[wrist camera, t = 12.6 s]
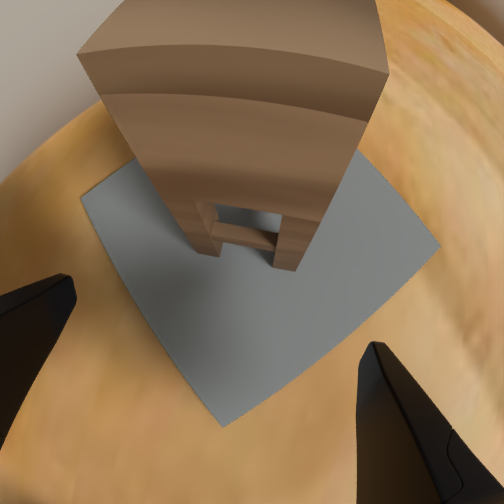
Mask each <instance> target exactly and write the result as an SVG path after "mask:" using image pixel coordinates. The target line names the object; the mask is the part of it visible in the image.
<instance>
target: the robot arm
mask: <svg viewBox="0 0 504 504" xmlns="http://www.w3.org/2000/svg"><path fill="white" fill-rule="evenodd" d="M76 301H77V296H76V291H75V287H74V282H73V279H72V277H71V276H69V275H66V274H63V273H59V274H56V275H54V276H51V277H48V278H46V279H43V280H40V281H37V282H35V283H32V284H29V285H27V286H24V287H22V288H19V289H16V290H14V291H11V292H9V293H6V294H4V295H1V296H0V450H1V448H2V445H3V443H4V441H5V438H6V436H7V434H8V432H9V430H10V427H11V425H12V423H13V421H14V419H15V417H16V415H17V413H18V411H19V409H20V407H21V405H22V403H23V401H24V399H25V397H26V395H27V393H28V391H29V390H30V388H31V386H32V384H33V382H34V380H35V378H36V377H37V375H38V373H39V371H40V370H41V368H42V366H43V364H44V363H45V361H46V359H47V357H48V356H49V354H50V352H51V351H52V349H53V347H54V346H55V344H56V342H57V340H58V338H59V336H60V334H61V332H62V330H63V328H64V326H65V324H66V322H67V320H68V318H69V316H70V314H71V312H72V310H73V308H74V306H75V304H76ZM356 439H357V502H356V504H504V487H503V486H502V485H501V484H500V483H499V482H498V481H497V480H496V478H495V477H494V476H493V475H492V474H491V473H490V472H489V471H488V470H487V468H486V467H485V466H484V465H483V464H482V463H481V462H480V461H479V459H478V458H477V457H476V456H475V455H474V454H473V453H472V451H471V450H470V449H469V448H468V446H467V445H466V444H465V443H464V441H463V440H462V439H461V438H460V436H459V435H458V434H457V432H456V431H455V430H454V429H452V426H451V425H450V423H449V422H448V421H447V419H446V418H445V417H444V416H443V414H442V413H441V412H440V410H439V409H438V408H437V407H436V405H435V404H434V403H433V402H432V400H431V399H430V398H429V396H428V395H427V394H426V393H425V391H424V390H423V389H422V388H421V386H420V385H419V384H418V383H417V381H416V380H415V379H414V378H413V377H412V375H411V374H410V373H409V372H408V370H407V369H406V368H405V367H404V365H403V364H402V363H401V362H400V361H399V359H398V358H397V357H396V356H395V355H394V353H393V352H392V351H391V350H390V349H389V347H388V346H387V345H386V344H385V343H383V342H376V341H372V342H370V343H369V345H368V346H367V348H366V350H365V352H364V354H363V356H362V358H361V360H360V363H359V367H358V386H357V403H356Z"/></svg>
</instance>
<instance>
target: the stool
mask: <svg viewBox="0 0 504 504" xmlns="http://www.w3.org/2000/svg"><path fill="white" fill-rule="evenodd" d="M77 56H78V58H79V60H80V62H81V64H82V66H83V67H84V69H85V71H86V73H87V75H88V76H89V78H90V80H91V82H92V83H93V85H94V87H95V89H96V91H97V92H98V94H99V96H100V98H101V99H102V101H103V103H104V105H105V106H106V108H107V110H108V112H109V113H110V115H111V117H112V118H113V120H114V122H115V123H116V125H117V127H118V128H119V130H120V132H121V134H122V135H123V137H124V139H125V140H126V142H127V143H128V145H129V147H130V148H131V150H132V152H133V153H134V155H135V157H136V158H137V160H138V162H139V163H140V165H141V166H142V168H143V170H144V171H145V173H146V174H147V176H148V178H149V179H150V181H151V182H152V184H153V186H154V187H155V189H156V190H157V192H158V193H159V195H160V197H161V198H162V200H163V201H164V203H165V204H166V206H167V208H168V209H169V211H170V212H171V214H172V215H173V217H174V218H175V220H176V221H177V223H178V225H179V226H180V228H181V229H182V231H183V232H184V234H185V235H186V237H187V238H188V240H189V241H190V243H191V244H192V246H193V247H194V249H195V250H196V252H197V253H198V254H203V255H208V256H213V257H219V258H220V254H221V249H222V245H223V242H224V243H230V244H235V245H241V246H246V247H252V248H257V249H262V250H268V251H273V252H275V256H274V262H273V267H272V268H277V269H282V270H287V271H293V272H295V271H296V269H297V268H298V266H299V264H300V262H301V260H302V258H303V256H304V254H305V252H306V250H307V248H308V246H309V245H310V243H311V241H312V239H313V237H314V235H315V233H316V231H317V229H318V227H319V225H320V223H321V221H322V219H323V217H324V215H325V213H326V211H327V209H328V207H329V205H330V203H331V201H332V199H333V197H334V195H335V193H336V191H337V188H338V186H339V184H340V182H341V180H342V178H343V176H344V174H345V172H346V170H347V168H348V166H349V163H350V161H351V159H352V157H353V155H354V153H355V151H356V148H357V146H358V144H359V142H360V140H361V138H362V135H363V133H364V131H365V129H366V127H367V124H368V122H369V120H370V118H371V116H372V113H373V111H374V109H375V106H376V104H377V102H378V100H379V97H380V95H381V93H382V90H383V88H384V86H385V83H386V81H387V79H388V76H389V68H388V62H387V56H386V50H385V44H384V39H383V34H382V29H381V24H380V20H379V15H378V11H377V7H376V3H375V0H125V1H123V3H121V4H120V5H119V6H118V7H117V8H116V10H115V11H114V12H113V13H112V14H111V15H110V16H109V17H108V18H107V19H106V20H105V21H104V22H103V23H102V24H101V26H100V27H99V28H98V29H97V30H96V31H95V32H94V34H93V35H92V36H91V37H90V38H89V39H88V41H87V42H86V43H85V44H84V45H83V47H82V48H81V49H80V50H79V52H78V53H77ZM214 203H216V204H222V205H228V206H234V207H240V208H246V209H252V210H258V211H263V212H269V213H274V214H280V215H282V219H281V224H280V229H279V233H276V232H270V231H265V230H259V229H254V228H248V227H243V226H237V225H231V224H226V223H220V220H219V217H218V214H217V210H216V207H215V204H214Z"/></svg>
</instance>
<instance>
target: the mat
mask: <svg viewBox="0 0 504 504" xmlns="http://www.w3.org/2000/svg"><path fill="white" fill-rule="evenodd" d="M81 201H82V203H83V205H84V207H85V209H86V211H87V213H88V216H89V218H90V220H91V222H92V224H93V226H94V228H95V230H96V232H97V234H98V236H99V238H100V240H101V242H102V244H103V246H104V248H105V250H106V251H107V253H108V255H109V257H110V259H111V261H112V263H113V265H114V266H115V268H116V270H117V272H118V274H119V275H120V277H121V279H122V281H123V283H124V284H125V286H126V288H127V290H128V291H129V293H130V295H131V296H132V298H133V300H134V301H135V303H136V305H137V306H138V308H139V310H140V311H141V313H142V315H143V316H144V318H145V320H146V321H147V323H148V324H149V326H150V327H151V329H152V331H153V332H154V334H155V335H156V337H157V338H158V340H159V341H160V343H161V344H162V346H163V347H164V349H165V350H166V352H167V353H168V355H169V356H170V358H171V359H172V361H173V362H174V364H175V365H176V367H177V368H178V369H179V371H180V372H181V374H182V375H183V376H184V378H185V379H186V381H187V382H188V383H189V385H190V386H191V387H192V389H193V390H194V392H195V393H196V394H197V396H198V397H199V398H200V400H201V401H202V402H203V403H204V405H205V406H206V407H207V409H208V410H209V411H210V413H211V414H212V415H213V416H214V418H215V419H216V420H217V421H218V423H219V424H220V425H221V426H222V428H223V427H225V426H226V425H228V424H230V423H231V422H233V421H234V420H236V419H237V418H239V417H240V416H242V415H244V414H245V413H247V412H248V411H250V410H251V409H253V408H254V407H255V406H257V405H258V404H260V403H261V402H263V401H264V400H266V399H267V398H269V397H270V396H271V395H273V394H274V393H276V392H277V391H278V390H280V389H281V388H283V387H284V386H285V385H287V384H288V383H289V382H291V381H292V380H293V379H295V378H296V377H297V376H299V375H300V374H301V373H303V372H304V371H305V370H307V369H308V368H309V367H310V366H312V365H313V364H314V363H316V362H317V361H318V360H319V359H321V358H322V357H323V356H324V355H326V354H327V353H328V352H329V351H331V350H332V349H333V348H334V347H335V346H337V345H338V344H339V343H340V342H341V341H343V340H344V339H345V338H346V337H347V336H349V335H350V334H351V333H352V332H353V331H354V330H355V329H357V328H358V327H359V326H360V325H361V324H362V323H363V322H365V321H366V320H367V319H368V318H369V317H370V316H371V315H372V314H373V313H375V312H376V311H377V310H378V309H379V308H380V307H381V306H382V305H383V304H384V303H385V302H386V301H388V300H389V299H390V298H391V297H392V296H393V295H394V294H395V293H396V292H397V291H398V290H399V289H400V288H401V287H402V286H403V285H404V284H405V283H406V282H407V281H408V280H409V279H410V278H411V277H412V276H413V275H414V274H415V273H416V272H417V271H418V270H419V269H420V268H421V267H422V266H423V265H424V264H425V263H426V262H427V261H428V260H429V259H430V258H431V257H432V255H433V254H434V253H435V252H436V251H437V250H438V249H439V248H440V247H441V246H440V244H439V243H438V242H437V240H436V239H435V238H434V236H433V235H432V234H431V232H430V231H429V230H428V229H427V227H426V226H425V225H424V224H423V222H422V221H421V220H420V219H419V217H418V216H417V215H416V214H415V212H414V211H413V210H412V209H411V208H410V206H409V205H408V204H407V203H406V202H405V200H404V199H403V198H402V197H401V196H400V195H399V193H398V192H397V191H396V190H395V189H394V188H393V187H392V185H391V184H390V183H389V182H388V181H387V180H386V179H385V178H384V177H383V175H382V174H381V173H380V172H379V171H378V170H377V169H376V168H375V167H374V166H373V165H372V164H371V163H370V162H369V160H368V159H367V158H366V157H365V156H364V155H363V154H362V153H361V152H360V151H359V150H358V149H357V148H356V151H355V153H354V155H353V157H352V159H351V161H350V163H349V166H348V168H347V170H346V172H345V174H344V176H343V178H342V180H341V182H340V184H339V186H338V188H337V191H336V193H335V195H334V197H333V199H332V201H331V203H330V205H329V207H328V209H327V211H326V213H325V215H324V217H323V219H322V221H321V223H320V225H319V227H318V229H317V231H316V233H315V235H314V237H313V239H312V241H311V243H310V245H309V246H308V248H307V250H306V252H305V254H304V256H303V258H302V260H301V262H300V264H299V266H298V268H297V269H296V271H295V272H293V271H287V270H282V269H277V268H272V267H273V262H274V256H275V252H273V251H268V250H262V249H257V248H252V247H246V246H241V245H235V244H230V243H224V242H223V245H222V249H221V254H220V258H219V257H213V256H208V255H203V254H198V253H197V252H196V250H195V249H194V247H193V246H192V244H191V243H190V241H189V240H188V238H187V237H186V235H185V234H184V232H183V231H182V229H181V228H180V226H179V225H178V223H177V221H176V220H175V218H174V217H173V215H172V214H171V212H170V211H169V209H168V208H167V206H166V204H165V203H164V201H163V200H162V198H161V197H160V195H159V193H158V192H157V190H156V189H155V187H154V186H153V184H152V182H151V181H150V179H149V178H148V176H147V174H146V173H145V171H144V170H143V168H142V166H141V165H140V163H139V162H138V160H137V158H134V159H133V160H131V161H130V162H129V163H127V164H126V165H124V166H123V167H121V168H120V169H119V170H117V171H116V172H115V173H113V174H112V175H110V176H109V177H108V178H106V179H105V180H104V181H102V182H101V183H100V184H98V185H97V186H96V187H94V188H93V189H92V190H91V191H89V192H88V193H87V194H85V195H84V196H83V197H82V198H81ZM214 204H215V207H216V210H217V214H218V217H219V220H220V223H226V224H231V225H237V226H243V227H248V228H254V229H259V230H265V231H270V232H276V233H279V229H280V224H281V219H282V215H280V214H274V213H269V212H263V211H258V210H252V209H246V208H240V207H234V206H228V205H222V204H216V203H214Z"/></svg>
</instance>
